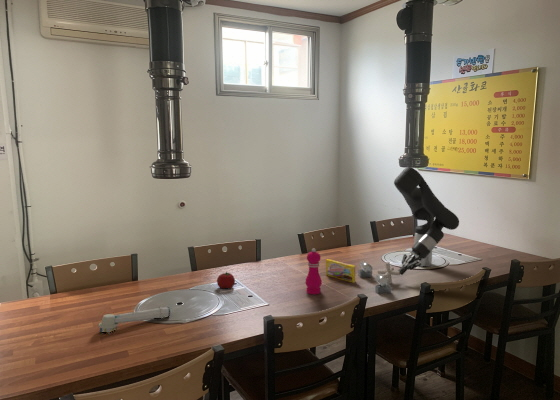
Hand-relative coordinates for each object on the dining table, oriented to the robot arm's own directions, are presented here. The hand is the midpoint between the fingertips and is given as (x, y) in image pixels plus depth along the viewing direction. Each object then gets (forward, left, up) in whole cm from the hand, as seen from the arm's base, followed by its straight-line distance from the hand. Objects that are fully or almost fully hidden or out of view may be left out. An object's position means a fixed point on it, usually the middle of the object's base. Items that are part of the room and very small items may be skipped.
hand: (399, 273), depth 189 cm
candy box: (-12, -25, -5) cm, 28 cm away
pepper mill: (+2, -42, -5) cm, 42 cm away
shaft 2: (+8, -12, -5) cm, 15 cm away
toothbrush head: (+19, -115, -5) cm, 117 cm away
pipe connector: (-1, -4, -5) cm, 6 cm away
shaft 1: (-11, -12, -5) cm, 17 cm away
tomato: (-11, -80, -5) cm, 81 cm away
